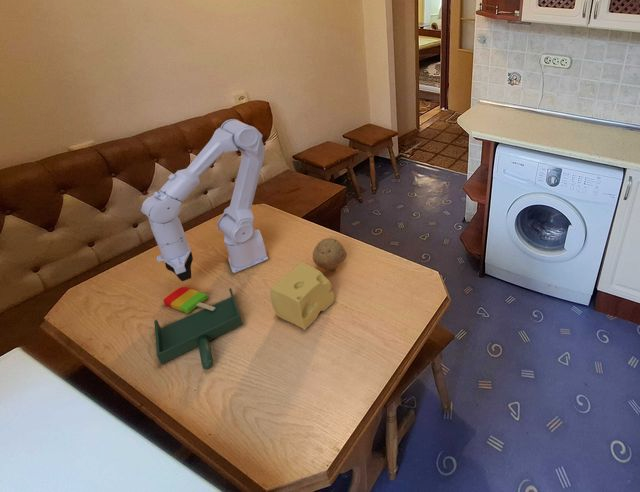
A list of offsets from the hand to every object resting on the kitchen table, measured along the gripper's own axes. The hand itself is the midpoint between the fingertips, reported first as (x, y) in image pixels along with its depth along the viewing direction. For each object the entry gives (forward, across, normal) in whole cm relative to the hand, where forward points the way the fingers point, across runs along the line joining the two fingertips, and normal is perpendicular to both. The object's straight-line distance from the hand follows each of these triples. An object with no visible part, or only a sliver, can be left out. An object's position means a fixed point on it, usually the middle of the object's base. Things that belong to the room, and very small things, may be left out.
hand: (186, 278), depth 97 cm
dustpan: (+4, +20, +1) cm, 21 cm away
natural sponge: (+4, +16, +33) cm, 37 cm away
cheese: (+4, +26, +22) cm, 35 cm away
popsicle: (+4, +6, 0) cm, 8 cm away
